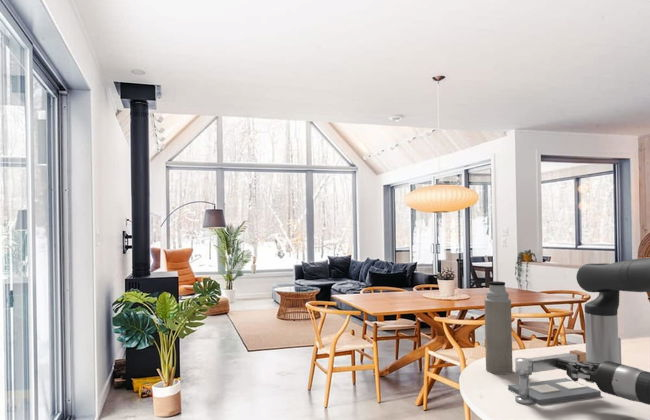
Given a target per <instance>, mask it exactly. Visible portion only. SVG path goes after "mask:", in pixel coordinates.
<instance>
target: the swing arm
mask: <svg viewBox="0 0 650 420" xmlns="http://www.w3.org/2000/svg"><path fill="white" fill-rule="evenodd" d="M561 359H562V360H566V361H569V362H578V363H580V362H581V361H583V362H586V351H585V352H584V351H581V350H578V349H573V350H569V352H568V353H567V352H566V353H560V354H552V355H551V354H550V355H544V356H536V357H527V358H526V357H516V358H515V359H514V361H515V362H514V363H515V369H514V370H515V374H517V375H518V376H519V375H529V376H531V375H533V374H534V373H541V372H547V371H553V370H559V369H558V368H557V360H561Z"/></svg>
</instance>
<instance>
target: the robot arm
mask: <svg viewBox="0 0 650 420" xmlns="http://www.w3.org/2000/svg"><path fill="white" fill-rule="evenodd" d="M576 281H577V284H578V286H579V287H580V288H581V289H582V290H583V291H585V292H589V293H598V295H597V297H596V298H595V299H592V300H591V301H588V302H586V303H585V304H584V336H585V339H584V340H585V353H586V362H583V361H581V362H580V363H578V362H569V361H566V360H562V359H561V360H557V368H558V369H557V370H561V371H566V375H567V376H568V378H569V379H570V380H573V381H575V382H578V381H579V379H580V380H585V382H587V383H590V384H594V383H595V384H596V386H597V388H598V389H599V391H601V393H604V394H608V395H612V396H614V397H619V398H622V399H624V400H628V401H631V402H637V403H642V404H644V405H648V406H650V371H647V370H644V369H640V368H638V367H634V366H630V365H626V364H622V338H620V337H619V321H618V320H619V319H618V311H619V310H618V309H619V307H620V292H628V293H629V292H632V293H633V292H634V293H650V257H648V258H646V257H644V258H635V259H634V258H633V259H627V260H622V261H616V262H612V263H611V262H610V263H605V262H604V263H585V264H583V265H581V266H580V267H579V268H578V270H577V272H576Z"/></svg>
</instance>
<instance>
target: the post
mask: <svg viewBox="0 0 650 420" xmlns="http://www.w3.org/2000/svg"><path fill="white" fill-rule="evenodd" d="M529 383H530V375H519V374H518V384H519V395H516V396H515V399H514V400H515V402H516V403H518V404H521V405H534V403H535V402H534V399H533V398H531V397H529Z"/></svg>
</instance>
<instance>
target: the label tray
mask: <svg viewBox="0 0 650 420" xmlns="http://www.w3.org/2000/svg"><path fill="white" fill-rule="evenodd" d="M507 389H508V391H510V390H511V392H512V391H513V393H514V392H515V393H514V394H516V393H517V395H518V394H519V383H517V384H509V385H507ZM601 393H602V391H601V390H600V389H599V390H598V389H596V388H593V387H590V386H588V385H585V384H583V383H581V382H578V381H573V380H572V379H571V378H568V377H563V378H555V379H549V380H548V379H547V380H541V381H531V382H530V381H529V397H531V398H533V399H534V403H535V404H536V405H537V404H538V405H545V404H552V403H558V402H559V403H560V402H565V401H566V402H567V401H575V400H580V399H588V398H594V397H601V395H602V394H601Z"/></svg>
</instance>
